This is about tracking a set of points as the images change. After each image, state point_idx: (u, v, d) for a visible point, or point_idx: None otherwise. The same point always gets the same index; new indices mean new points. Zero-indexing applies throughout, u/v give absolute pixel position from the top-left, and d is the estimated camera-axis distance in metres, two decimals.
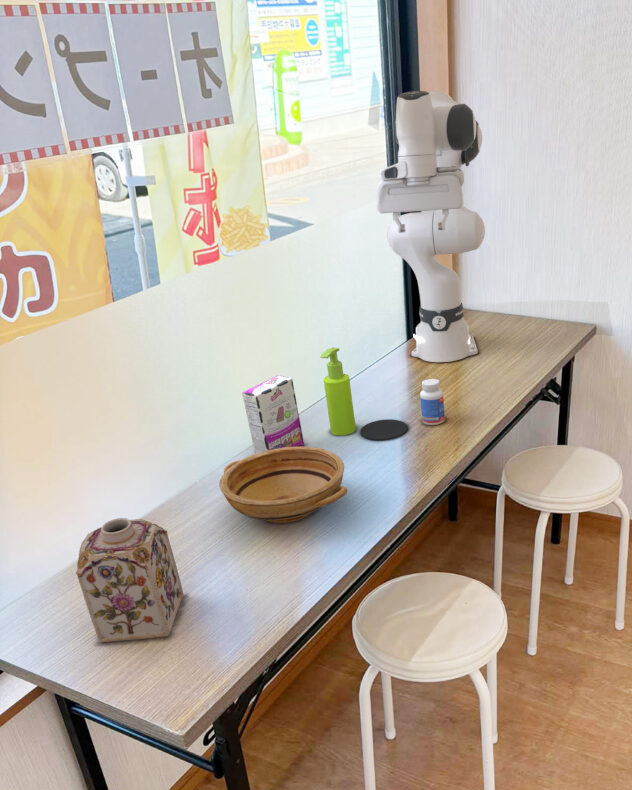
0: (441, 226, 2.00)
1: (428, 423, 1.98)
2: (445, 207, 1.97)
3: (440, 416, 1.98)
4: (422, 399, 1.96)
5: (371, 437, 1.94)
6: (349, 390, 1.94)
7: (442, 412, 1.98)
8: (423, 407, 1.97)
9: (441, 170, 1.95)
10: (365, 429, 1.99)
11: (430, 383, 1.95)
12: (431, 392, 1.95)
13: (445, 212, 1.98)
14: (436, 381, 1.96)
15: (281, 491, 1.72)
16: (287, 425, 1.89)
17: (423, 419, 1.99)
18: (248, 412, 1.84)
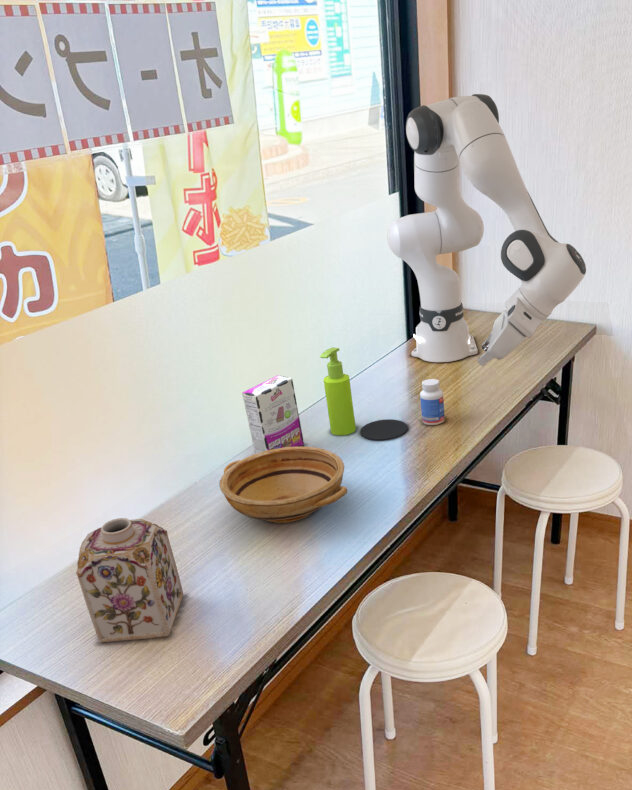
0: None
1: (428, 423, 1.98)
2: None
3: (440, 416, 1.98)
4: (422, 399, 1.96)
5: (371, 437, 1.94)
6: (349, 390, 1.94)
7: (442, 412, 1.98)
8: (423, 407, 1.97)
9: None
10: (365, 429, 1.99)
11: (430, 383, 1.95)
12: (431, 392, 1.95)
13: None
14: (436, 381, 1.96)
15: (281, 491, 1.72)
16: (287, 425, 1.89)
17: (423, 419, 1.99)
18: (248, 412, 1.84)
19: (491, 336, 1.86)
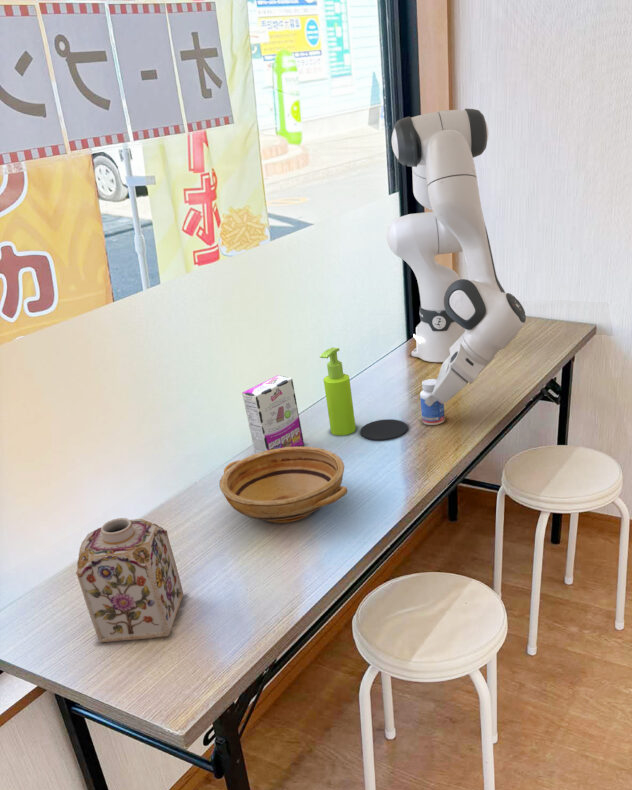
0: None
1: (428, 423, 1.98)
2: None
3: (440, 416, 1.98)
4: (422, 399, 1.96)
5: (371, 437, 1.94)
6: (349, 390, 1.94)
7: (442, 412, 1.98)
8: (423, 407, 1.97)
9: None
10: (365, 429, 1.99)
11: (430, 383, 1.95)
12: (431, 392, 1.95)
13: None
14: None
15: (281, 491, 1.72)
16: (287, 425, 1.89)
17: (423, 419, 1.99)
18: (248, 412, 1.84)
19: (437, 380, 1.93)
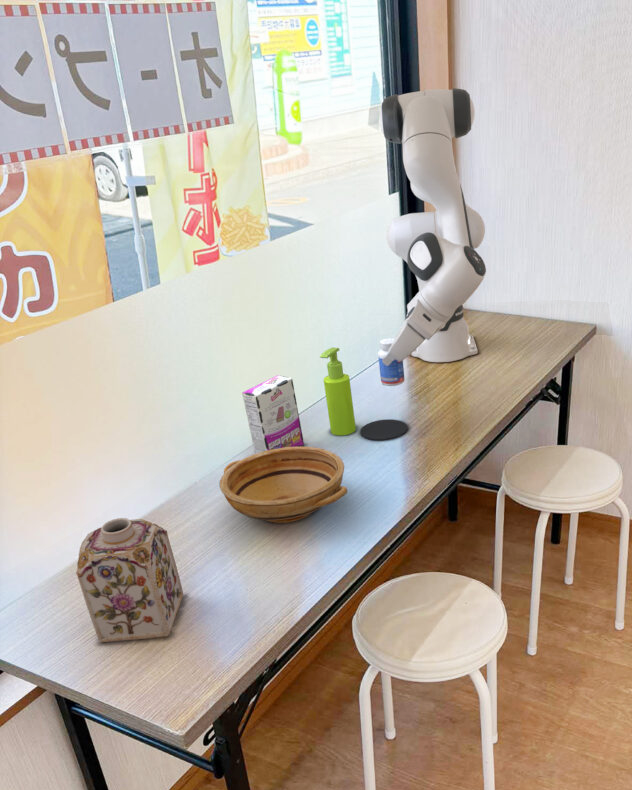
0: None
1: (387, 384, 1.91)
2: None
3: (399, 376, 1.91)
4: (380, 359, 1.89)
5: (371, 437, 1.94)
6: (349, 390, 1.94)
7: (401, 372, 1.91)
8: (381, 367, 1.90)
9: None
10: (365, 429, 1.99)
11: (388, 342, 1.88)
12: None
13: None
14: None
15: (281, 491, 1.72)
16: (287, 425, 1.89)
17: (382, 380, 1.92)
18: (248, 412, 1.84)
19: None
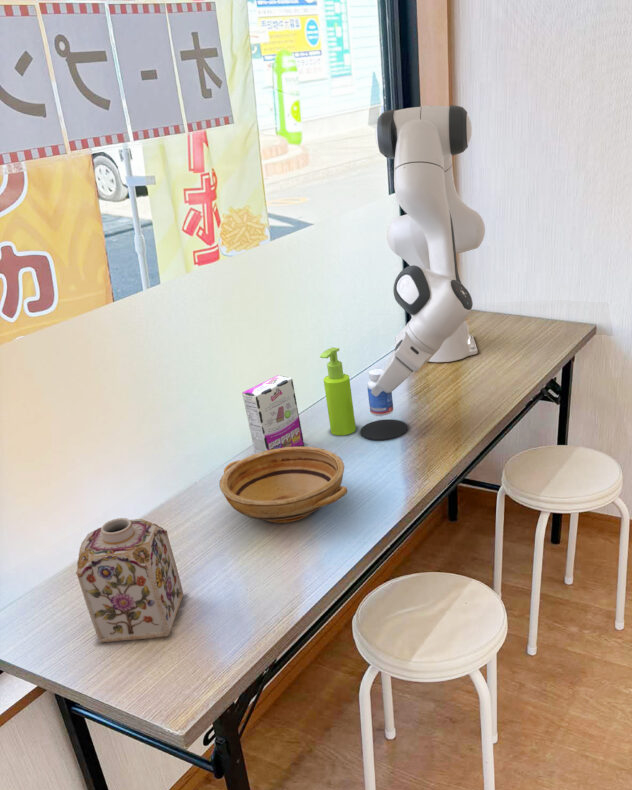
0: None
1: (376, 414, 1.94)
2: None
3: (388, 407, 1.93)
4: (369, 389, 1.92)
5: (371, 437, 1.94)
6: (349, 390, 1.94)
7: (390, 402, 1.93)
8: (370, 397, 1.92)
9: None
10: (365, 429, 1.99)
11: (377, 373, 1.90)
12: None
13: None
14: None
15: (281, 491, 1.72)
16: (287, 425, 1.89)
17: (371, 410, 1.94)
18: (248, 412, 1.84)
19: None
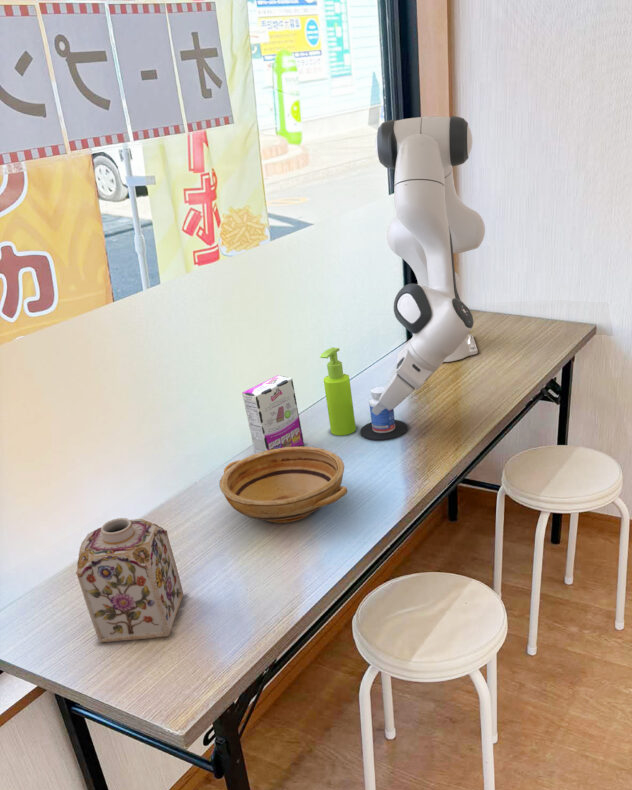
0: None
1: (378, 431, 1.96)
2: None
3: (390, 424, 1.95)
4: (371, 407, 1.94)
5: (371, 437, 1.94)
6: (349, 390, 1.94)
7: (392, 420, 1.95)
8: (372, 415, 1.94)
9: None
10: (365, 429, 1.99)
11: (379, 391, 1.92)
12: None
13: None
14: None
15: (281, 491, 1.72)
16: (287, 425, 1.89)
17: (373, 427, 1.96)
18: (248, 412, 1.84)
19: (385, 386, 1.91)
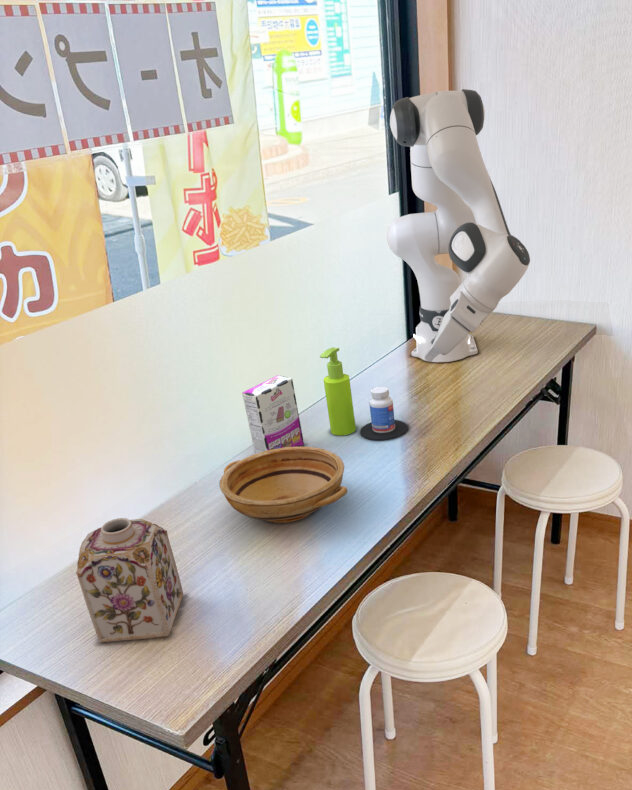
0: None
1: (378, 431, 1.96)
2: None
3: (390, 424, 1.95)
4: (371, 407, 1.94)
5: (371, 437, 1.94)
6: (349, 390, 1.94)
7: (392, 420, 1.95)
8: (372, 415, 1.94)
9: None
10: (365, 429, 1.99)
11: (379, 391, 1.92)
12: (380, 400, 1.93)
13: None
14: (385, 389, 1.93)
15: (281, 491, 1.72)
16: (287, 425, 1.89)
17: (373, 427, 1.96)
18: (248, 412, 1.84)
19: (437, 331, 1.83)
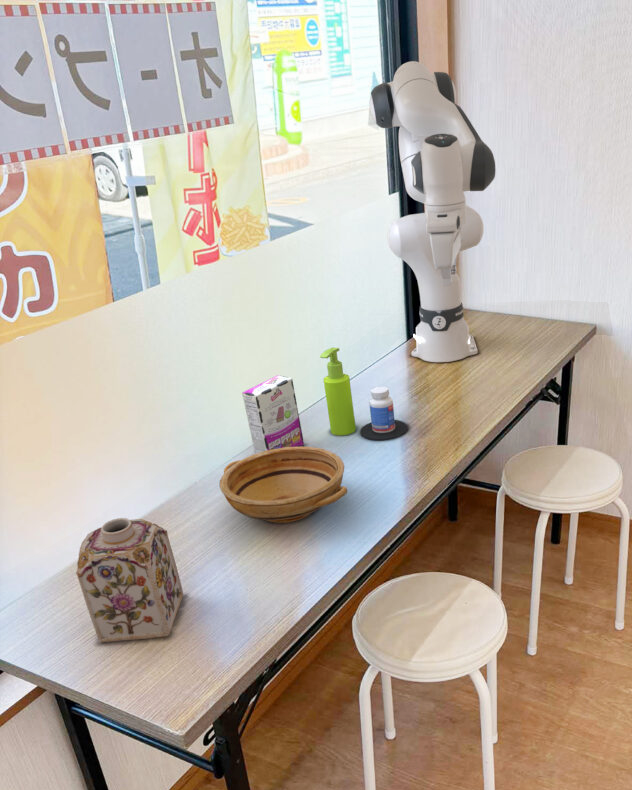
0: (455, 269, 1.95)
1: (378, 431, 1.96)
2: (459, 249, 1.94)
3: (390, 424, 1.95)
4: (371, 407, 1.94)
5: (371, 437, 1.94)
6: (349, 390, 1.94)
7: (392, 420, 1.95)
8: (372, 415, 1.94)
9: None
10: (365, 429, 1.99)
11: (379, 391, 1.92)
12: (380, 400, 1.93)
13: None
14: (385, 389, 1.93)
15: (281, 491, 1.72)
16: (287, 425, 1.89)
17: (373, 427, 1.96)
18: (248, 412, 1.84)
19: None
